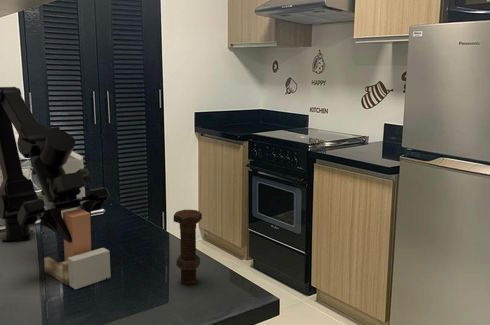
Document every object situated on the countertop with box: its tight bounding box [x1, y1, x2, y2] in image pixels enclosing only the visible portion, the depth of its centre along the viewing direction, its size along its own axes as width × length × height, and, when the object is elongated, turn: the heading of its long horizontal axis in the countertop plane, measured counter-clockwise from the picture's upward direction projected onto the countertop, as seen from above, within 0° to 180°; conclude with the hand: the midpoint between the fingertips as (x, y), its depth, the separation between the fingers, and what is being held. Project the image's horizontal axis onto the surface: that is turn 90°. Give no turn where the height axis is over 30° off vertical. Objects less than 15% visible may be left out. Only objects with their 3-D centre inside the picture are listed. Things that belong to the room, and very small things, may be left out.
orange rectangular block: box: [63, 209, 92, 262], centre depth 100 cm, size 4×4×12 cm
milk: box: [61, 150, 86, 218], centre depth 134 cm, size 6×6×22 cm
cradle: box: [43, 256, 69, 286], centre depth 103 cm, size 10×9×4 cm
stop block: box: [68, 247, 111, 290], centre depth 98 cm, size 2×8×6 cm, turn 137°
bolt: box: [173, 209, 203, 285], centre depth 98 cm, size 6×5×15 cm
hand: (80, 239), depth 99 cm, fingers closed on orange rectangular block, 4 cm apart
